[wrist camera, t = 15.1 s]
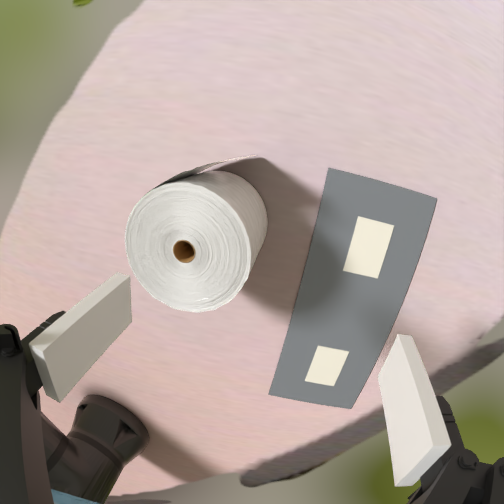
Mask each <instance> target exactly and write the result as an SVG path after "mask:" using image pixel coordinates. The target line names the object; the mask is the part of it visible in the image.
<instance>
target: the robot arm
mask: <svg viewBox="0 0 504 504" xmlns="http://www.w3.org/2000/svg"><path fill="white" fill-rule="evenodd" d="M131 322H132V313H131V289H130V276H129V275H126V274H122V273H118V272H117V273H116V274H115V275H113V276H112V277H111V278H109V279H108V280H107V281H105V282H104V283H103V284H101V285H100V286H99V287H98V288H96V289H95V290H94V291H92V292H91V293H90V294H89V295H87V296H86V297H85V298H84V299H82V300H81V301H80V302H78V303H77V304H76V305H75V306H73V307H72V308H71V309H70V310H69V311H67V312H65V311H61V312H58V313H56V314H53V315H52V316H51V317H49V318H48V319H47V320H46V321H45V322H43V323H42V324H41V325H40V326H39V327H37V328H36V329H35V330H33V331H32V332H31V333H30V334H28V335H27V336H26V337H25V338H24V339H22V340H20V337H19V333H18V330H17V328H16V327H15V326H13V325H11V324H2V325H0V504H104V503H105V501H106V499H107V497H108V496H109V494H110V492H111V490H112V488H113V486H114V484H115V483H116V481H117V479H118V477H119V475H120V473H121V471H122V470H123V468H124V466H126V465H127V464H128V463H129V462H130V461H132V460H133V459H134V458H135V457H137V456H138V455H139V454H140V453H141V452H142V451H143V450H144V449H145V447H146V445H147V443H148V441H149V435H148V432H147V430H146V428H145V427H144V425H143V424H142V423H141V422H140V421H139V420H138V419H137V418H136V417H135V416H134V415H133V414H132V413H131V412H129V411H128V410H127V409H125V408H124V407H123V406H121V405H119V404H118V403H116V402H114V401H112V400H110V399H108V398H105V397H102V396H98V395H88V396H86V397H84V399H83V400H82V401H81V402H80V404H79V405H78V407H77V411H76V414H75V418H74V421H73V425H72V429H71V431H70V432H69V434H68V435H67V436H65V435H64V434H63V433H62V432H61V431H60V430H59V429H58V428H57V427H56V426H55V425H54V424H53V423H52V422H51V421H50V420H49V419H48V418H47V417H46V416H45V415H44V414H43V413H42V412H41V407H40V394H39V391H38V390H39V389H40V388H41V387H42V386H43V388H44V390H45V393H46V395H47V396H49V397H51V398H52V399H54V400H56V401H58V402H59V403H60V402H61V401H62V400H63V399H64V398H65V396H66V395H67V394H68V393H69V392H70V391H71V389H72V388H73V387H74V386H75V385H76V384H77V382H78V381H79V380H80V379H81V378H82V377H83V376H84V374H85V373H86V372H87V371H88V370H89V369H90V368H91V366H92V365H93V364H94V363H95V362H96V361H97V360H98V359H99V357H100V356H101V355H102V354H103V353H104V352H105V351H106V350H107V349H108V347H109V346H110V345H111V344H112V343H113V342H114V341H115V340H116V339H117V337H118V336H119V335H120V334H121V333H122V332H123V331H124V330H125V329H126V328H127V327H128V325H129V324H130V323H131ZM378 381H379V386H380V391H381V396H382V402H383V407H384V413H385V418H386V424H387V430H388V436H389V443H390V450H391V457H392V465H393V473H394V482H395V486H412V485H413V484H414V483H415V482H416V481H418V480H419V479H420V480H421V487H419V488H418V489H417V490H416V491H415V492H414V493H413V494H411V495H410V496H409V497H408V499H410V500H409V502H408V503H407V504H504V457H502V458H500V459H498V460H497V461H496V462H495V463H494V464H493V465H491V464H486V463H482V462H479V459H478V458H477V456H476V454H474V453H473V452H472V451H470V450H468V449H465V448H464V445H463V442H462V439H461V436H460V433H459V430H458V427H457V424H456V423H455V419H454V416H453V413H452V410H451V408H450V405H449V404H448V402H447V401H446V400H445V399H444V397H443V396H435V394H434V391H433V388H432V385H431V383H430V380H429V377H428V375H427V372H426V370H425V367H424V364H423V362H422V359H421V357H420V354H419V352H418V350H417V347H416V345H415V342H414V340H413V338H412V336H410V335H403V334H398V335H397V337H396V339H395V341H394V344H393V346H392V348H391V350H390V352H389V355H388V357H387V359H386V361H385V363H384V365H383V367H382V369H381V371H380V373H379V375H378Z"/></svg>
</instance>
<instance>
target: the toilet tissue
mask: <svg viewBox="0 0 504 504" xmlns="http://www.w3.org/2000/svg"><path fill="white" fill-rule="evenodd" d="M252 156H256V155H250V156H245V157H237V158H232V159H228V160H238V159H244V158H247V157H252ZM228 160H223V161H218V162H214V163H211V164H207V165H203V166H201V167H197V168H195V169H193V170H189V171H185V172H182V173H180V174H178V175H176V176H174V177H172V178H170V179H169V180H167V181H165V182H163V183H161V184H160V185H158V186H157V187H155V188H154V189H152V190H151V191H149V192H148V193H147V194H146V195H144V196H143V197H142V198H141V199H140V201H139V202H138V203H137V204H136V205H135V207H134V208H133V210H132V212H131V214H130V216H129V219H128V222H127V225H126V231H125V248H126V254H127V258H128V261H129V264H130V266H131V269H132V271H133V273H134V275H135V276H136V278H137V279H138V281H139V282H140V284H141V285H142V286H143V287H144V288H145V289H146V290H147V291H148V293H149V294H150V295H151V296H152V297H153V298H155V299H157V300H159V301H160V302H162V303H164V304H166V305H168V306H169V307H171V308H173V309H177V310H183V311H189V312H195V313H199V312H204V311H208V310H215V309H217V308H218V307H220V306H222V305H224V304H226V303H228V302H230V301H231V300H232V299H233V298H234V297H235V296H236V294H237V293H238V292H239V291H240V290H241V288H242V287H243V286H244V284H245V282H246V280H247V279H248V276H249V274H250V272H251V269H252V267H253V265H254V263H255V261H256V258H257V255H258V253H259V251H260V249H261V247H262V245H263V243H264V239H265V237H266V233H267V226H268V220H267V213H266V208H265V205H264V203H263V200H262V198H261V197H260V195H259V193H258V192H257V191H256V190H255V188H254V187H253V186H252V185H251V184H250V183H249V182H247V181H246V180H245V179H243V178H242V177H240V176H237V175H235V174H233V173H229V172H226V171H206V172H203V173H200V172H201V171H203V170H205V169H207V168H209V167H211V166H214V165H216V164H218V163H222V162H225V161H228ZM198 173H199V174H198Z"/></svg>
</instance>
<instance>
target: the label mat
mask: <svg viewBox="0 0 504 504" xmlns="http://www.w3.org/2000/svg"><path fill="white" fill-rule="evenodd" d="M436 201H437V198H434V197H431V196H428V195H425V194H422V193H419V192H415V191H412V190H409V189H406V188H402V187H399V186H396V185H392V184H389V183H385V182H382V181H378V180H375V179H371V178H367V177H363V176H360V175H356V174H352V173H348V172H344V171H340V170H336V169H332V168H328V172H327V177H326V182H325V186H324V191H323V195H322V199H321V204H320V208H319V212H318V217H317V221H316V225H315V229H314V233H313V238H312V242H311V246H310V250H309V254H308V258H307V262H306V265H305V269H304V273H303V277H302V281H301V285H300V288H299V292H298V296H297V299H296V303H295V307H294V310H293V314H292V317H291V321H290V324H289V328H288V331H287V335H286V338H285V342H284V345H283V349H282V352H281V355H280V359H279V362H278V365H277V369H276V372H275V375H274V378H273V382H272V385H271V388H270V391H269V394H268V395H273V396H278V397H283V398H288V399H293V400H298V401H303V402H309V403H315V404H321V405H327V406H334V407H340V408H348V409H351V408H352V406H353V404H354V403H355V401H356V399H357V397H358V395H359V394H360V392H361V390H362V388H363V386H364V384H365V382H366V380H367V378H368V377H369V375H370V373H371V371H372V369H373V367H374V365H375V363H376V361H377V359H378V357H379V354H380V352H381V350H382V348H383V346H384V344H385V342H386V340H387V337H388V335H389V333H390V331H391V328H392V326H393V324H394V322H395V319H396V317H397V315H398V312H399V310H400V307H401V305H402V302H403V300H404V297H405V295H406V292H407V290H408V287H409V285H410V282H411V279H412V277H413V274H414V271H415V268H416V265H417V263H418V260H419V257H420V254H421V251H422V248H423V245H424V242H425V239H426V235H427V232H428V229H429V226H430V222H431V219H432V215H433V212H434V208H435V205H436Z"/></svg>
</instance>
